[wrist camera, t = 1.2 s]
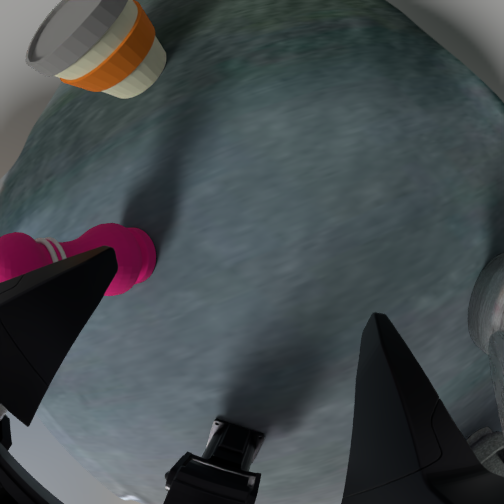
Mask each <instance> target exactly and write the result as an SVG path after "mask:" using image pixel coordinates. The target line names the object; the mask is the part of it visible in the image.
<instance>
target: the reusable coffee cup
mask: <svg viewBox="0 0 504 504" xmlns="http://www.w3.org/2000/svg"><path fill="white" fill-rule="evenodd" d="M26 63H27V64H28V65H29V66H30V67H32V68H33V69H35V70H36V71H38V72H39V73H41V74H42V75H44V76H47V77H50V76H57V77H60V79H61V81H63V82H64V83H67V84H70V85H73V86H77V87H80V88H83V89H86V90H89V91H93V92H100V91H102V92H105V93H107V94H110V95H113V96H115V97H118V98H122V99H127V98H132V97H134V96H137V95H139V94H140V93H142V92H144V91H145V90H146V89H148V88H149V87H150V86H151V85H152V84H153V83H154V82H155V81H156V80H157V79H158V77H159V76H160V74H161V73H162V71H163V69H164V67H165V64H166V52H165V51H164V49H163V47H162V46H161V44H160V43H159V41H158V39H157V38H156V36H155V28H154V26H153V25H152V23H151V22H150V20H149V18H148V17H147V15H146V13H145V12H144V10H143V9H142V7H141V5H140V4H139V2H137V1H135V0H62V1H61V2H60V3H59V4H58V5H57V6H56V7H55V8H54V9H53V10H52V11H51V12H50V14H49V15H48V16H47V17H46V18H45V20H44V21H43V23H42V24H41V25H40V27H39V28H38V30H37V31H36V33H35V35H34V37H33V38H32V41H31V42H30V45H29V47H28V50H27V54H26Z"/></svg>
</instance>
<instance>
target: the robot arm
mask: <svg viewBox="0 0 504 504" xmlns="http://www.w3.org/2000/svg"><path fill="white" fill-rule="evenodd" d="M117 271H118V263H117V258H116V253H115V250H114V248H112V247H109V246H105V245H104V246H101V247H98V248H95V249H92V250H89V251H86V252H83V253H80V254H77V255H74V256H71V257H68V258H65V259H63V260H60V261H57V262H54V263H52V264H49V265H46V266H43V267H41V268H38V269H35V270H33V271H30V272H27V273H25V274H22V275H20V276H17V277H14V278H12V279H9V280H6V281H4V282H1V283H0V504H64V503H62V502H61V501H60V500H59V499H57V498H56V497H55V496H53V495H52V494H51V493H50V492H49V491H48V490H47V489H45V488H44V487H43V486H42V485H41V484H40V483H39V482H38V481H36V480H35V479H34V478H33V477H32V476H31V475H30V474H29V473H28V472H27V471H26V470H25V469H24V468H23V467H22V466H21V465H20V464H19V463H18V462H17V461H16V460H15V459H14V457H13V456H11V454H10V453H9V452H8V450H9V448H10V446H11V445H12V441H11V432H10V419H9V418H8V417H7V416H6V414H5V413H6V412H7V410H8V411H9V412H10V413H12V414H13V415H14V416H15V417H16V418H17V419H19V420H20V421H21V422H23V423H24V424H25V425H26V426H27V427H28V426H29V425H30V423H31V421H32V419H33V417H34V415H35V413H36V411H37V409H38V407H39V405H40V403H41V401H42V399H43V397H44V395H45V393H46V391H47V389H48V387H49V385H50V383H51V381H52V379H53V378H54V376H55V374H56V372H57V370H58V369H59V367H60V365H61V363H62V362H63V360H64V358H65V356H66V355H67V353H68V351H69V350H70V348H71V346H72V345H73V343H74V342H75V340H76V338H77V337H78V335H79V334H80V332H81V330H82V329H83V327H84V326H85V324H86V323H87V321H88V320H89V318H90V317H91V315H92V313H93V312H94V311H95V309H96V308H97V306H98V304H99V303H100V301H101V299H102V298H103V296H104V294H105V292H106V291H107V289H108V287H109V285H110V284H111V282H112V280H113V278H114V277H115V275H116V273H117ZM216 422H217V423H216ZM259 436H261V437H259ZM264 437H265V435H264V434H262V433H259V432H256V431H252V430H249V429H246V428H243V427H240V426H236V425H233V424H230V423H228V422H225V421H222V420H219V419H215V420H214V422H213V425H212V429H211V432H210V436H209V439H208V443H207V446H206V450H205V452H204V453H203V455H202V457H199V456H196V455H193V454H192V453H190V452H187V453H186V454H185V455H183V456H182V457H181V458H180V460H179V461H178V462H177V463H176V464H175V465H174V466H173V467H172V468H171V470H170V471H168V472H167V473H166V474H165V478H166V480H167V481H166V487H165V489H166V491H168V494H167V496H166V499H165V501H164V504H254V503H255V500H256V497H257V493H258V488H259V483H260V478H261V473H253V472H249V469H250V465H251V463H253V461H254V459H255V457H256V455H257V452H258V450H259V448H260V446H261V444H262V442H263V440H264ZM341 504H504V477H503V476H500V475H497V474H495V473H493V472H491V471H489V470H487V469H486V468H485V467H484V466H483V465H482V464H481V463H480V461H479V460H478V458H477V457H476V455H475V454H474V452H473V450H472V449H471V447H470V446H469V444H468V443H467V441H466V440H465V438H464V437H463V435H462V434H461V432H460V430H459V429H458V427H457V426H456V424H455V423H454V421H453V419H452V418H451V416H450V414H449V413H448V411H447V409H446V408H445V406H444V404H443V402H442V401H441V399H439V396H438V394H437V392H436V391H435V389H434V387H433V386H432V384H431V382H430V381H429V379H428V377H427V376H426V374H425V373H424V371H423V369H422V368H421V366H420V365H419V363H418V362H417V360H416V358H415V357H414V355H413V354H412V352H411V351H410V349H409V348H408V346H407V345H406V343H405V342H404V340H403V339H402V337H401V336H400V334H399V333H398V331H397V330H396V328H395V327H394V325H393V324H392V323H391V321H390V320H389V318H388V317H387V316H386V315H385V314H382V313H377V312H374V313H373V314H372V315H371V317H370V319H369V321H368V323H367V325H366V326H365V328H364V330H363V333H362V338H361V347H360V355H359V362H358V369H357V376H356V388H355V405H354V418H353V429H352V439H351V448H350V456H349V463H348V470H347V476H346V482H345V488H344V493H343V498H342V503H341Z"/></svg>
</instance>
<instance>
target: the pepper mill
mask: <svg viewBox="0 0 504 504" xmlns="http://www.w3.org/2000/svg"><path fill="white" fill-rule="evenodd" d="M104 245H105V246H109V247H112V248H114V250H115V253H116V258H117V263H118V271H117V273H116V275H115V277H114V278H113V280H112V282H111V284H110V285H109V287H108V289H107V291H106V292H105V294H104V296H113V295H118V294H122V293H124V292H126V291H128V290H129V289H131V288H132V286H133V285H134V284H137V283H141V282H143V281H145V280H146V279H147V278H149V277H150V275H151V274H152V272H153V270H154V267H155V264H156V251H155V247H154V244H153V242H152V240H151V238H150V237H149V236H148V235H147V234H146V233H145V232H144V231H143V230H141V229H138V228H125V227H124V226H122V225H119V224H115V223H107V224H100V225H98V226H95V227H93V228H91V229H89V230H88V231H87V232H85V233H84V234H83V235H82V236H80V237H79V238H77V239H75V240H73V241H69V242H63V243H59V242H58V241H56V240H55V239H54V238H51V237H47V238H37V239H35V240H34V239H33V238H32V237H30V236H29V235H27V234H24V233H18V232H14V233H10V234H6V235H4V236H2V237H0V283H1V282H4V281H6V280H9V279H12V278H14V277H17V276H20V275H22V274H25V273H27V272H30V271H33V270H35V269H38V268H41V267H43V266H46V265H49V264H52V263H54V262H57V261H60V260H63V259H65V258H68V257H71V256H74V255H77V254H80V253H83V252H86V251H89V250H92V249H95V248H98V247H101V246H104Z"/></svg>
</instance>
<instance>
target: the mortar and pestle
mask: <svg viewBox="0 0 504 504" xmlns="http://www.w3.org/2000/svg"><path fill="white" fill-rule="evenodd" d="M467 443H468V444H469V446H470V447H471V449H472V450H473V452H474V454H475V455H476V457H477V458H478V460H479V461H480V463H481V464H482V465H483V466H484V467H485V468H486V469H487V470H489V471H491V472H493V473H495V474H497V475H500V476H503V477H504V436H503V432H498V431H496V432H492V430H491V429H490V428H488V427H485V428H482V429H480V430H478V431H477V432H475V433H474V434H473V435H472V436H470V437H469V438H468V439H467Z"/></svg>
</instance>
